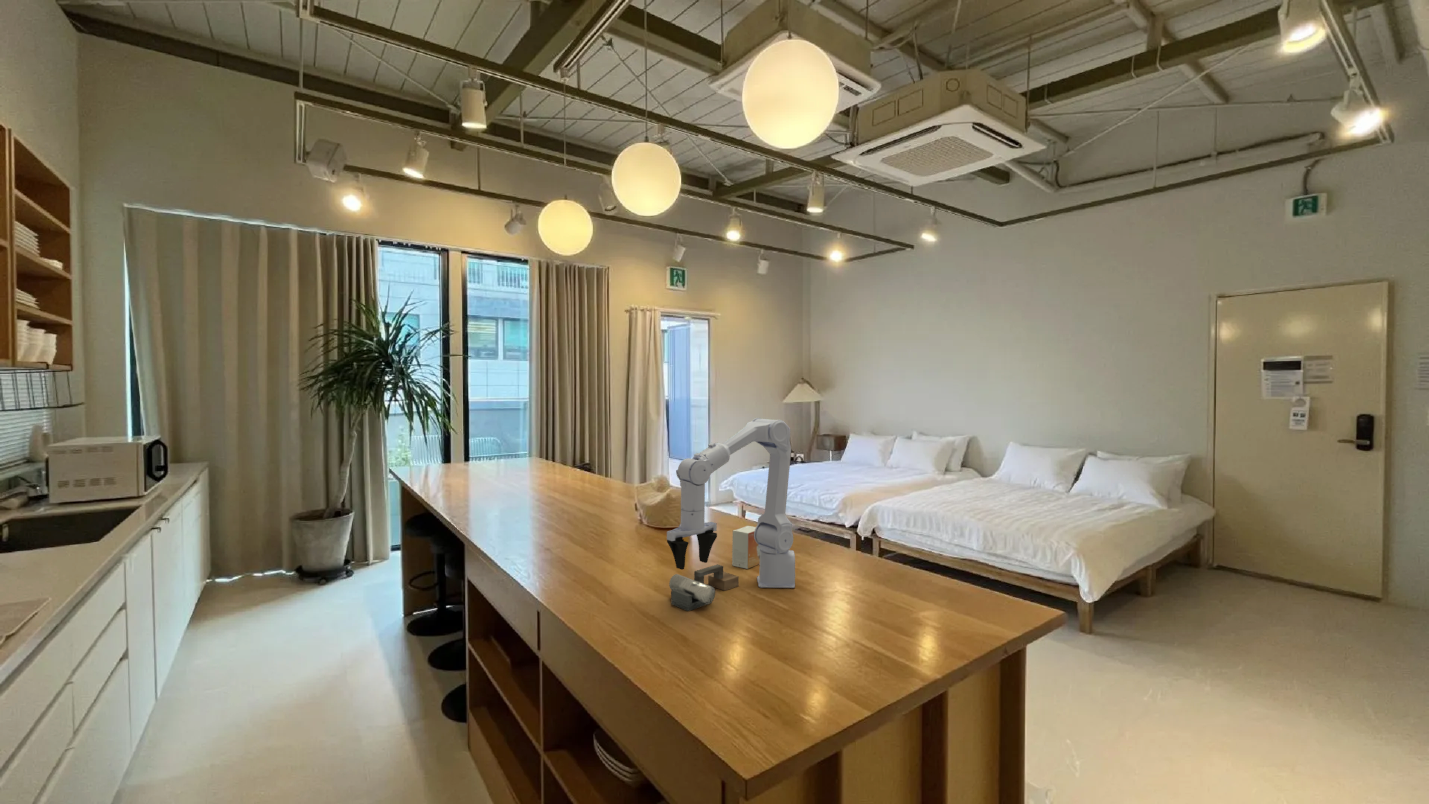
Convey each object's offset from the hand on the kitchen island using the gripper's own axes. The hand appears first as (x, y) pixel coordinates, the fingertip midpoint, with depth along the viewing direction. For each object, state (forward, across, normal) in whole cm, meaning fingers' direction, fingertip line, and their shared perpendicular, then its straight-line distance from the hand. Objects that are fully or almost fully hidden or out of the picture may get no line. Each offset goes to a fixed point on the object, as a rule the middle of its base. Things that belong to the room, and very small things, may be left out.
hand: (692, 565), depth 143 cm
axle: (+8, 0, 0) cm, 8 cm away
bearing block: (+9, -11, -4) cm, 15 cm away
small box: (+10, -33, -12) cm, 36 cm away
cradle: (+9, 0, 0) cm, 9 cm away
